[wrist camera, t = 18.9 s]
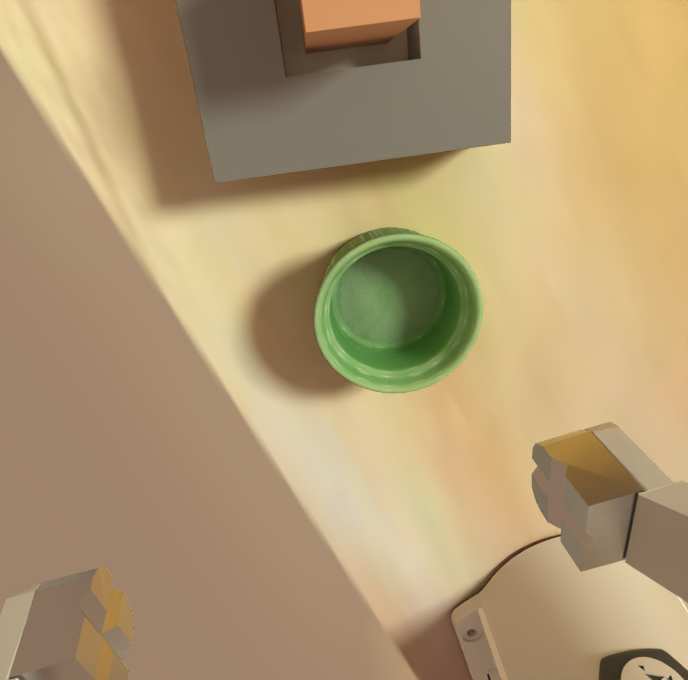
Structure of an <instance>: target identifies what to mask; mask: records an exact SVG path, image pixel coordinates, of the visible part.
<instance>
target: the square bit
mask: <svg viewBox="0 0 688 680" xmlns="http://www.w3.org/2000/svg"><path fill="white" fill-rule="evenodd" d="M298 1H299V8H300V16H301V23H302V31H303V38H304V45H305V53H306V54H308V53H315V52H323V51H330V50H338V49H345V48H353V47H360V46H368V45H375V44H383V43H388V42H390V41H391V40H392V39H393V38H395V37H396V36H397V35H399V34H400V33H401V32H402V31H404V30H405V29H406V28H408V27H409V26H410V25H411V24H413V23H414V22H415V21H417V20H418V19H419V18H421V14H420V0H298Z"/></svg>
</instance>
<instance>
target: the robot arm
mask: <svg viewBox="0 0 688 680" xmlns="http://www.w3.org/2000/svg"><path fill="white" fill-rule="evenodd" d="M532 458H533V460H534V461H535V463H536V464H537V465H538V467H537V468H536V469H535V471H534V472H533V473H532V489H533V492H534V496H535V500H536V502H537V504H538V506H539V508H540V510H541V512H542V514H543V515H544V517H545V518H546V520H547V522H549V523H551V524H553V525H555V526H556V527H558V528H560V529H561V536H560V537H556V538H553V539H550V540H547V541H544V542H541V543H539V544H536V545H534V546H532V547H530V548H528V549H526V550H524V551H523V552H521V553H519V554H518V555H516V556H515V557H513V558H512V559H511V560H510V561H508V562H507V563H506V564H505V565H504V566H502V567H501V568H500V569H499V570H498V571H497V572H496V574H495V575H494V576H493V577H492V578H491V580H490V581H489V582H488V584H487V585H486V586H485V587H484V588H483V589H482V590H481V591H480V592H479V593H478V594H477V595H475V596H473V597H472V598H470V599H468V600H467V601H465V602H464V603H462V604H461V605H459V606H458V607H457V608H456V609H455V610H454V611H453V612H452V614H451V621H452V624H453V627H454V629H455V632H456V635H457V638H458V641H459V643H460V646H461V649H462V652H463V655H464V658H465V660H466V663H467V666H468V669H469V672H470V675H471V677H472V680H688V609H687V608H686V606H685V605H684V602H685V601H686V602H687V603H688V483H686V482H684V481H679V482H675V483H674V482H673V481H672V480H671V479H670V478H669V477H668V476H667V475H666V474H665V473H664V472H663V471H662V470H661V469H660V468H659V467H658V466H657V465H656V464H655V463H654V462H653V461H652V460H651V459H650V458H649V457H648V456H647V455H646V454H645V453H644V452H643V451H642V450H641V449H640V448H639V447H638V446H637V445H636V444H635V443H634V442H633V441H632V440H631V439H630V438H629V437H628V436H627V435H626V434H625V433H624V432H623V431H622V430H621V429H620V428H619V427H618V426H617V425H616V424H614V423H612V422H608V423H604V424H601V425H597V426H594V427H590V428H587V429H585V430H578V431H575V432H572V433H568V434H565V435H562V436H558V437H555V438H552V439H548V440H545V441H542V442H538V443H535V445H534V447H533V453H532ZM112 580H113V577H112V576H111V575H110V573H109V572H108V571H107V570H106V568H105V567H102V568H96V569H93V570H89V571H85V572H81V573H77V574H73V575H69V576H65V577H61V578H58V579H53V580H50V581H46V582H43V583H39V584H35V585H31V586H28V587H24V588H20V589H16V590H14V591H13V592H12V593H11V594H10V595H9V597H8V598H7V599H6V601H5V603H4V607H3V609H2V612H1V615H0V680H127V678H128V670H127V668H126V667H125V665H124V664H123V662H122V661H121V660H122V659H123V657H124V656H125V654H126V653H127V651H128V650H129V648H130V647H131V645H132V639H133V630H134V626H133V617H132V616H133V615H132V610H131V607H130V604H129V601H128V599H127V598H126V596H125V594H124V593H123V592H122V591H119V590H116V589H113V588H111V586H112Z"/></svg>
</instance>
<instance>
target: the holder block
mask: <svg viewBox="0 0 688 680" xmlns="http://www.w3.org/2000/svg"><path fill="white" fill-rule="evenodd" d="M176 4H177V9H178V14H179V18H180V23H181V28H182V32H183V37H184V42H185V46H186V51H187V56H188V60H189V65H190V70H191V74H192V79H193V84H194V88H195V93H196V98H197V102H198V107H199V111H200V116H201V121H202V125H203V130H204V135H205V139H206V144H207V149H208V153H209V158H210V163H211V167H212V172H213V177H214V181H215V183H219V182H226V181H234V180H241V179H248V178H255V177H263V176H270V175H277V174H284V173H292V172H299V171H306V170H314V169H321V168H328V167H335V166H343V165H350V164H357V163H364V162H372V161H379V160H386V159H394V158H401V157H408V156H415V155H423V154H430V153H437V152H444V151H452V150H459V149H466V148H474V147H481V146H488V145H495V144H503V143H510V142H511V0H420V14H421V18H419V19H418V20H417V21H415V22H414V23H413V24H411V25H410V26H409V27H408V28H406V29H405V30H404V31H402V32H401V33H400V34H399V35H397V36H396V37H395V38H393V39H392V40H391V41H390V42H388V43H383V44H375V45H368V46H360V47H353V48H345V49H338V50H330V51H323V52H315V53H308V54H306V53H305V45H304V38H303V31H302V23H301V16H300V8H299V1H298V0H176Z"/></svg>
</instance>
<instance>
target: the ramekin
mask: <svg viewBox="0 0 688 680" xmlns="http://www.w3.org/2000/svg"><path fill="white" fill-rule="evenodd" d="M482 316H483V300H482V294H481V289H480V286H479V283H478V280H477V278H476V276H475V274H474V272H473V270H472V269H471V267H470V266H469V264H468V263H467V262H466V261H465V259H464V258H463V257H462V256H461V255H460V254H459V253H457V252H456V251H455V250H454V249H452V248H451V247H450V246H448V245H446V244H445V243H443V242H441V241H439V240H436V239H434V238H431V237H428V236H424V235H421V234H419V233H417V232H415V231H411V230H408V229H402V228H381V229H376V230H372V231H369V232H366V233H364V234H361V235H359V236H357V237H355V238H354V239H352V240H350V241H349V242H348V243H347V244H345V245H344V246H343V247H342V248H341V249H340V250H339V251H338V252H337V253H336V254H335V255H334V257H333V258H332V260H331V261H330V263H329V264H328V267H327V269H326V271H325V274H324V277H323V280H322V283H321V286H320V288H319V291H318V294H317V297H316V301H315V306H314V315H313V323H314V332H315V336H316V340H317V343H318V346H319V348H320V350H321V352H322V354H323V356H324V357H325V359H326V360H327V362H328V363H329V364H330V365H331V367H332V368H333V369H334V370H335V371H336V372H338V373H339V374H340V375H341V376H342V377H344V378H345V379H347V380H348V381H350V382H352V383H354V384H356V385H358V386H360V387H363V388H366V389H369V390H372V391H377V392H382V393H405V392H410V391H416V390H419V389H422V388H425V387H428V386H430V385H432V384H434V383H436V382H438V381H440V380H442V379H443V378H444V377H446V376H447V375H449V374H450V373H451V372H452V371H454V370H455V369H456V368H457V367H458V366H459V365H460V364H461V363H462V362H463V360H464V359H465V358H466V356H467V355H468V354H469V352H470V350H471V349H472V347H473V345H474V343H475V341H476V339H477V336H478V333H479V330H480V327H481V322H482Z"/></svg>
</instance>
